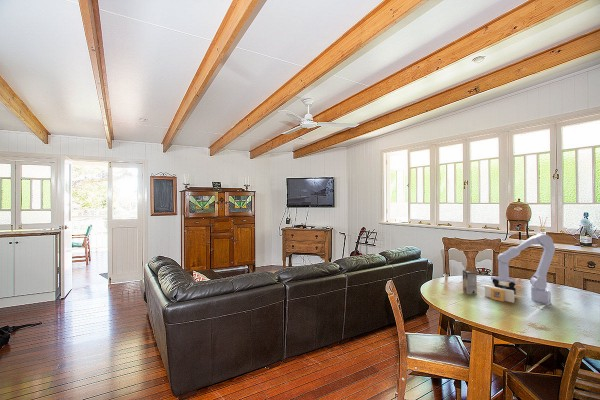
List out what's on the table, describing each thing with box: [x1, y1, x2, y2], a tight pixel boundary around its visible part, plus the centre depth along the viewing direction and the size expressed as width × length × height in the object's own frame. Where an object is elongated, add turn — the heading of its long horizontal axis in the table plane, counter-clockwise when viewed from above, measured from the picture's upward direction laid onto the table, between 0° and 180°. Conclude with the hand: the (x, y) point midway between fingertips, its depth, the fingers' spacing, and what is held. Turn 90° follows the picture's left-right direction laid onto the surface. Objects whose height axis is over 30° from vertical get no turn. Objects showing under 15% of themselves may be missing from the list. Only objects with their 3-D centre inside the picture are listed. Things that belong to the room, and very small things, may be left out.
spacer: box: [490, 288, 505, 303], centre depth 186 cm, size 7×2×7 cm, turn 36°
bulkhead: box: [484, 284, 515, 304], centre depth 188 cm, size 16×2×9 cm, turn 36°
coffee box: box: [462, 269, 478, 295], centre depth 202 cm, size 9×6×16 cm
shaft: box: [494, 283, 517, 296], centre depth 190 cm, size 11×18×4 cm, turn 126°
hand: (503, 292), depth 193 cm, fingers open, 7 cm apart
